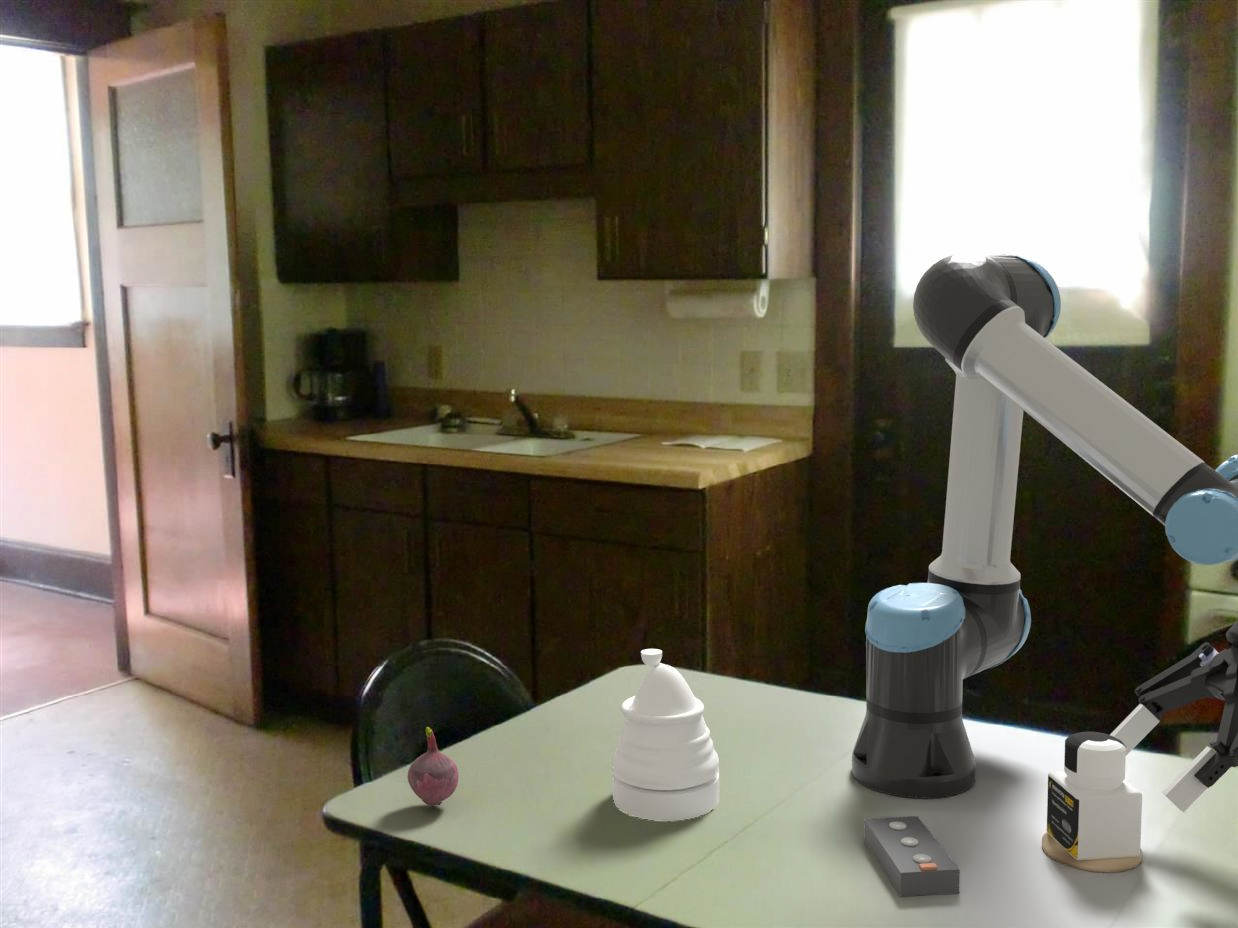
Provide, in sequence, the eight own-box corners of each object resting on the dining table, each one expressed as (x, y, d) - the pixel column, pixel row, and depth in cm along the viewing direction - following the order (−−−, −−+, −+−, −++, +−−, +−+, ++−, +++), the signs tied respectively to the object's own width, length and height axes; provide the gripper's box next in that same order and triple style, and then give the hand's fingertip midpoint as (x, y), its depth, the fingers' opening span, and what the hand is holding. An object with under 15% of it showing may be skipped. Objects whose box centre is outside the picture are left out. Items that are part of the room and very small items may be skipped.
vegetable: (434, 793, 148) (430, 715, 147) (471, 804, 145) (468, 724, 143) (398, 810, 143) (394, 729, 142) (435, 821, 140) (432, 739, 138)
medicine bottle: (1045, 832, 132) (1048, 727, 130) (1107, 829, 133) (1110, 724, 131) (1075, 862, 125) (1079, 751, 123) (1141, 857, 126) (1145, 747, 124)
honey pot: (590, 801, 145) (587, 656, 142) (660, 770, 154) (658, 634, 152) (672, 831, 136) (669, 677, 134) (741, 796, 145) (739, 652, 143)
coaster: (1029, 856, 128) (1030, 851, 128) (1056, 823, 136) (1056, 818, 136) (1129, 880, 122) (1129, 875, 122) (1151, 844, 130) (1151, 839, 130)
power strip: (864, 840, 132) (864, 815, 132) (917, 837, 133) (917, 813, 133) (900, 896, 120) (900, 869, 119) (959, 892, 120) (959, 866, 120)
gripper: (1385, 691, 115) (1229, 850, 116) (1236, 626, 139) (1108, 757, 140) (1334, 640, 114) (1177, 800, 115) (1193, 583, 138) (1064, 715, 139)
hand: (1138, 777), depth 127 cm, fingers open, 13 cm apart
